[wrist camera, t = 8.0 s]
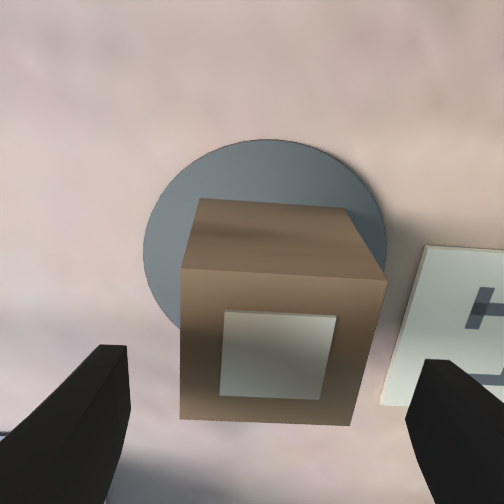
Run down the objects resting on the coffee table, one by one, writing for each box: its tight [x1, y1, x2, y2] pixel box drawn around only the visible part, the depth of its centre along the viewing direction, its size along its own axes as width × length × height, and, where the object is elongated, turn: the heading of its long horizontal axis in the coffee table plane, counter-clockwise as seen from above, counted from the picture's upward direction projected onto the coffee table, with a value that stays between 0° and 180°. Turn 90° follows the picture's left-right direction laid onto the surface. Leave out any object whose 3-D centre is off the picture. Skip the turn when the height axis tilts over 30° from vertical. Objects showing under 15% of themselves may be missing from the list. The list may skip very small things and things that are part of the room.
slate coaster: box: [143, 139, 387, 329], centre depth 16 cm, size 9×9×1 cm
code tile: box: [380, 245, 504, 406], centre depth 18 cm, size 8×8×1 cm
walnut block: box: [180, 198, 388, 426], centre depth 13 cm, size 5×5×5 cm
